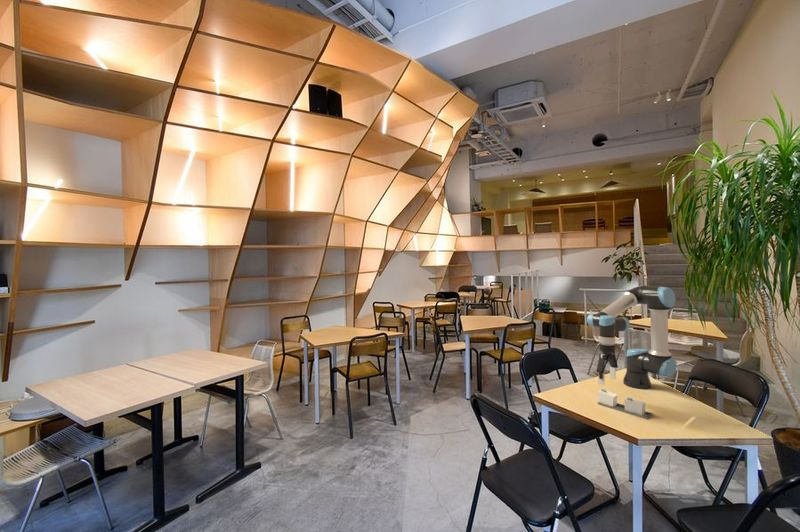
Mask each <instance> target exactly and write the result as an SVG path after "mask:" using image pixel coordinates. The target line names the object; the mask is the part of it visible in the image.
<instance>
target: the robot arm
mask: <svg viewBox="0 0 800 532" xmlns="http://www.w3.org/2000/svg"><path fill="white" fill-rule="evenodd" d="M676 301H677V300H676V294H675V293H674V291H673V289H671V288H670V287H667V286H657V285H656V286H654V285H639V286H636V287H633V288H629V290H626V291H625V292H624V293H623V294H622V295H621V297H620V298H618V299H616V300H615V301H613V302H612V303H611V304H609V305H608V306H607V307H604V308H603V309H601V310H600V311H599V312H597V313H590V314H588V315H587V317H586V323H587V325H588V326H590V327H594V328H599V336H598V339H599V344H598V345H599V351H601V352H602V354H601V353H600V354H598V356H599V357H598V362H597V367H596V373H598V384H599V385H601V386H605V380H606V379H605V378H606V377H605V370H606V368H607V367H606V366H607V364H608V363H609V365H610V367H609V379H611V380H616V379H617V378H616V374H617V373H616V368H617V369H618V362H617V356H616V345H615V344H616V333H619V332H625V331H627V330H629V329H630V327H631V322H630V320H629V319H628V318H626V317H621V316H620V317H618V316H619V315H621V314H623V313H624V312H625V311H626V310H628V309H629V308H631V307H635V306H637V305H646V306H647V310H649V311H650V350H649V349H646V348H629V349H627V351H626V372H625V375H624V377H623V380H622V381H623V382H622V383H623V385H625V386H628V387H630V388H633V389H640V390H641V389H642V390H648V389H651V388H652V382H651V379H650V377H649V373H650V374H655V375H657V376H660V377H661V376H662V377H666V378H668V377H669V378H670V376H672V375H673V374H674V373H675V371H676V370H677V360H676V359H675V358H674V357H673V358H672V352H670V351H669V312H670V311H671V310H672V309H671V308H673V307H675V305H676Z"/></svg>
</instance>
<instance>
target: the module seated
mask: <svg viewBox="0 0 800 532" xmlns="http://www.w3.org/2000/svg"><path fill="white" fill-rule="evenodd" d="M624 405H625V411H629V412H632V413H635V414H639V415H642V416H643V415H644V414H645V411H646V402H645V401H642V400H638V399H634V398H633V397H629V396H628V397H627V398H626V399H625V400H624Z"/></svg>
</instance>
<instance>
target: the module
mask: <svg viewBox="0 0 800 532" xmlns="http://www.w3.org/2000/svg"><path fill="white" fill-rule="evenodd" d="M597 393H598V394H597V403H598V402H600V403H603V404H605V405H609V406H612V407H614V406H616V405H617V403H618V396H619V395H618V394H617V393H615V392H611V391H608V390H606V389H604V388H602V389H600V390H598V392H597Z"/></svg>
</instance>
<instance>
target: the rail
mask: <svg viewBox="0 0 800 532" xmlns="http://www.w3.org/2000/svg"><path fill="white" fill-rule="evenodd" d="M597 405H599V406H602V407H605V408H609V409H612V410H615V411H619V412H622V413H625V414H629V415H632V416H634V417H638V418H641V419H643V420H644V419H646V420H648V419H650V418H651V417H652V416H654V413H652V412H650V411H646V410H645V414H644V415H643V416H642V415H639V414H635V413H632V412H629V411H625V404H621V403H618V402H617V405H616V406H614V407H612V406H609V405H605V404H603V403H600V402H598V401H597Z"/></svg>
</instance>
